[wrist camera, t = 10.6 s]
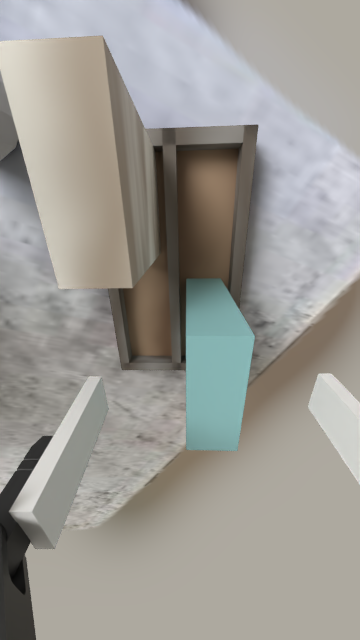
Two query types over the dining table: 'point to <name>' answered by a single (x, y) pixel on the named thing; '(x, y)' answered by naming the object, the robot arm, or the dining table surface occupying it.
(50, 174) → the track base
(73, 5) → the dining table surface
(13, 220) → the dining table surface
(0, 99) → the water bottle
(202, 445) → the teal door
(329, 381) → the robot arm
